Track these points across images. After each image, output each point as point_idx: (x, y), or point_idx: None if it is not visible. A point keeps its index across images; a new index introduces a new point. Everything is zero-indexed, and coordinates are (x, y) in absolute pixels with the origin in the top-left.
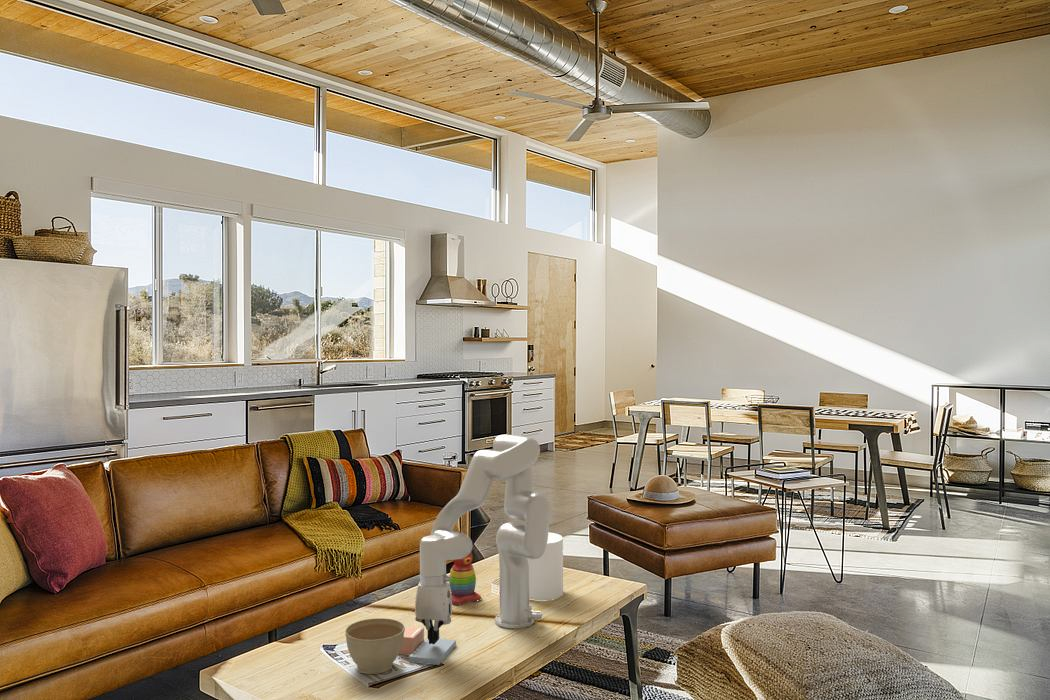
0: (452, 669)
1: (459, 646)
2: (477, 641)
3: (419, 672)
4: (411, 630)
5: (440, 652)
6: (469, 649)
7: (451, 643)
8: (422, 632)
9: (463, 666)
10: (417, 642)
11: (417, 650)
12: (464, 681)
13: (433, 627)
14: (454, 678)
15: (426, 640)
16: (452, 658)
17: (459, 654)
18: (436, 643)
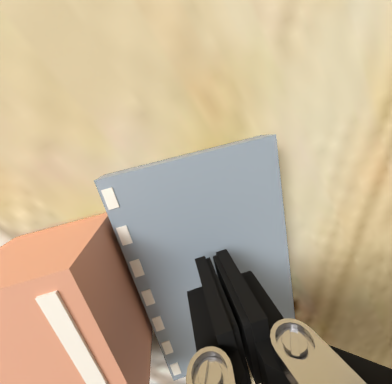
0: (336, 313)
1: (282, 140)
2: (341, 34)
3: (252, 378)
4: (21, 365)
5: (273, 290)
6: (336, 148)
7: (274, 187)
8: (94, 278)
9: (360, 280)
10: (133, 320)
11: (168, 329)
12: (389, 342)
13: (237, 348)
14: (360, 346)
15: (125, 223)
16: (304, 254)
17: (315, 212)
18: (202, 226)
